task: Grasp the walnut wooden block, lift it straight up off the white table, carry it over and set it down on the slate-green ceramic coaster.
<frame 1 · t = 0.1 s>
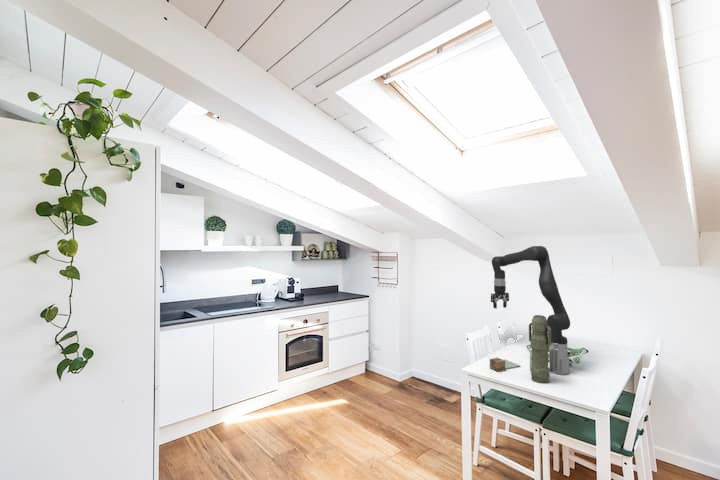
hand: (500, 307, 241), 29 cm above the table, fingers open, 8 cm apart
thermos: (540, 380, 187), on the table
walnut block: (497, 370, 203), on the table
supplement box: (538, 370, 202), on the table
coaster: (504, 364, 211), on the table
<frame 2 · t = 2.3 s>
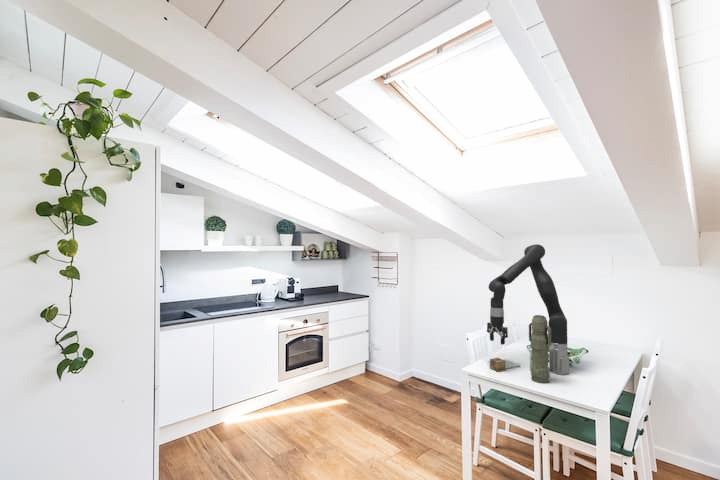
hand: (497, 342, 204), 16 cm above the table, fingers open, 8 cm apart
nothing on the table moved.
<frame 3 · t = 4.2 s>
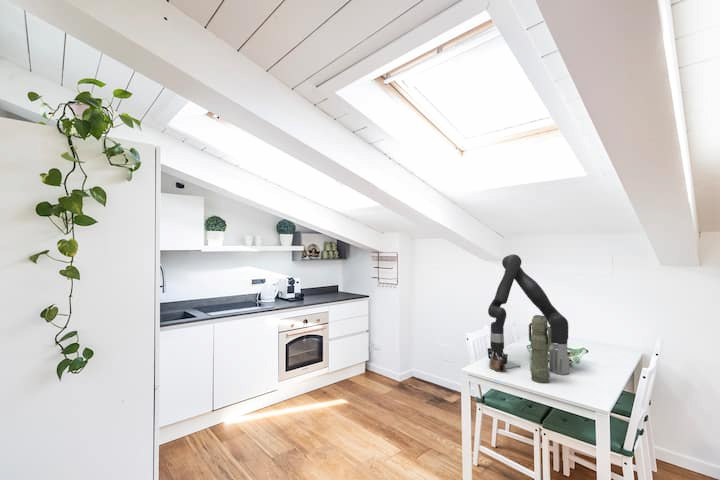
hand: (497, 368, 203), 1 cm above the table, fingers closed on walnut block, 6 cm apart
walnut block: (497, 369, 203), on the table, touching gripper
everything else where it was.
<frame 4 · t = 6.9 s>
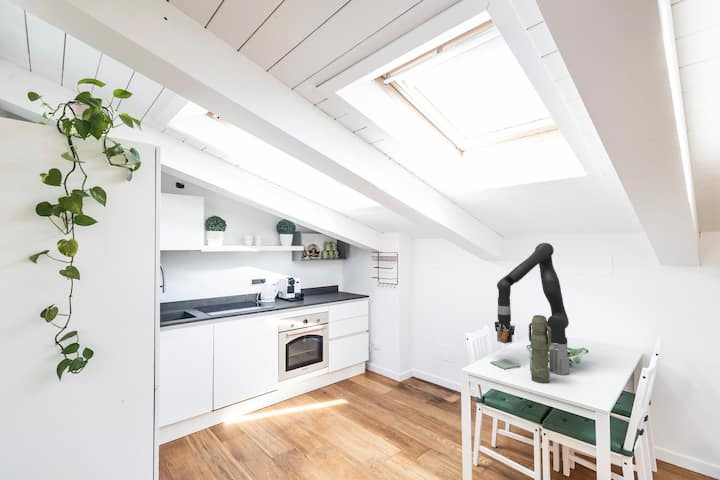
hand: (504, 340, 210), 15 cm above the table, fingers closed on walnut block, 6 cm apart
walnut block: (504, 341, 210), point 15 cm above the table, touching gripper
everything else where it was.
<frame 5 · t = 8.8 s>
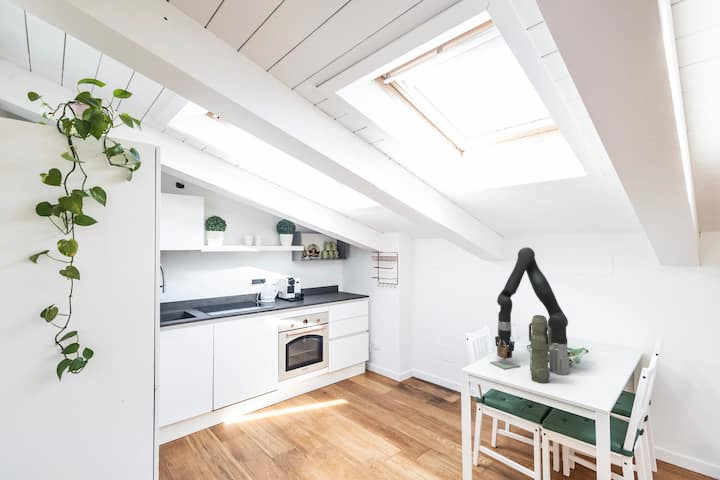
hand: (504, 355, 212), 6 cm above the table, fingers closed on walnut block, 6 cm apart
walnut block: (504, 356, 211), point 5 cm above the table, touching gripper
everything else where it was.
when the fingers open (3 cm above the table, at t = 9.9 s): walnut block drops 1 cm, resting on coaster.
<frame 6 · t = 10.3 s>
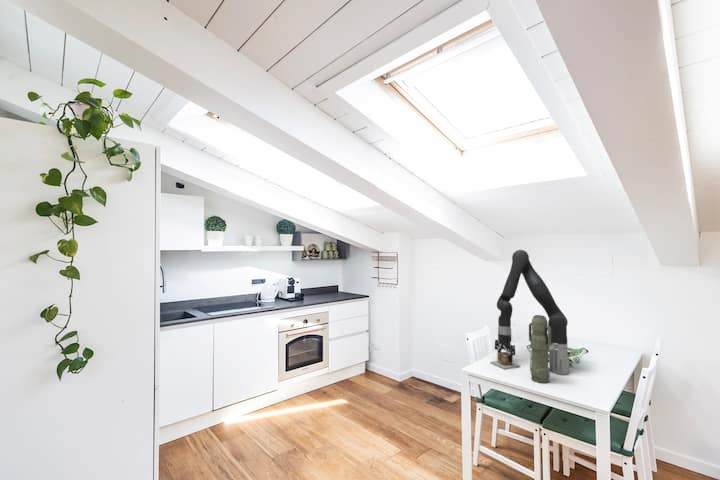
hand: (504, 359, 211), 3 cm above the table, fingers open, 8 cm apart
walnut block: (504, 363, 211), point 1 cm above the table, touching coaster
everything else where it was.
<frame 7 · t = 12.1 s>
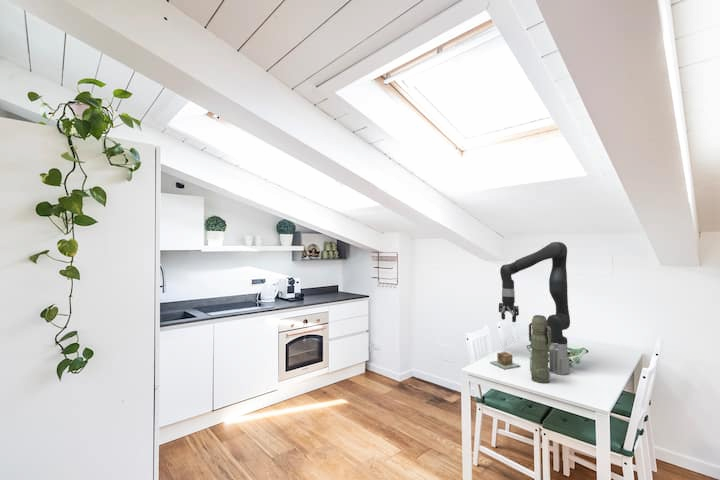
hand: (508, 320, 221), 25 cm above the table, fingers open, 8 cm apart
nothing on the table moved.
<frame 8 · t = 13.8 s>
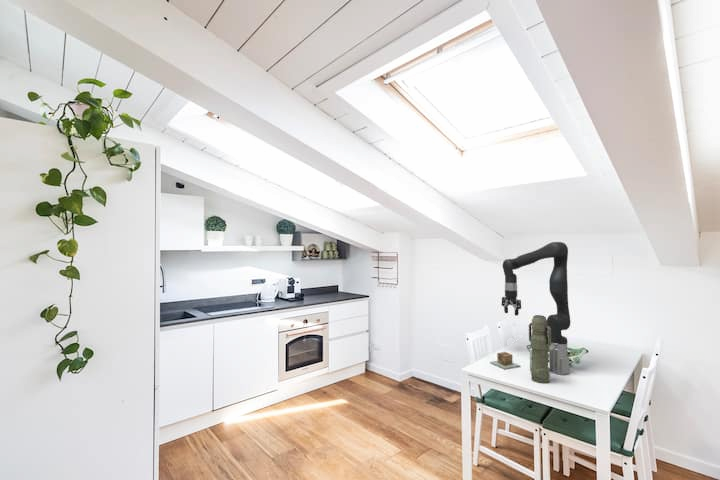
hand: (511, 314, 226), 28 cm above the table, fingers open, 8 cm apart
nothing on the table moved.
at the end: walnut block inside the target area on the coaster (0.0 cm from its centre), point 0.8 cm above the coaster's base; walnut block tilted 0°; the gripper is holding nothing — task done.
